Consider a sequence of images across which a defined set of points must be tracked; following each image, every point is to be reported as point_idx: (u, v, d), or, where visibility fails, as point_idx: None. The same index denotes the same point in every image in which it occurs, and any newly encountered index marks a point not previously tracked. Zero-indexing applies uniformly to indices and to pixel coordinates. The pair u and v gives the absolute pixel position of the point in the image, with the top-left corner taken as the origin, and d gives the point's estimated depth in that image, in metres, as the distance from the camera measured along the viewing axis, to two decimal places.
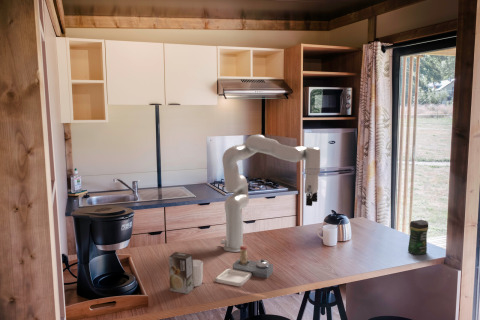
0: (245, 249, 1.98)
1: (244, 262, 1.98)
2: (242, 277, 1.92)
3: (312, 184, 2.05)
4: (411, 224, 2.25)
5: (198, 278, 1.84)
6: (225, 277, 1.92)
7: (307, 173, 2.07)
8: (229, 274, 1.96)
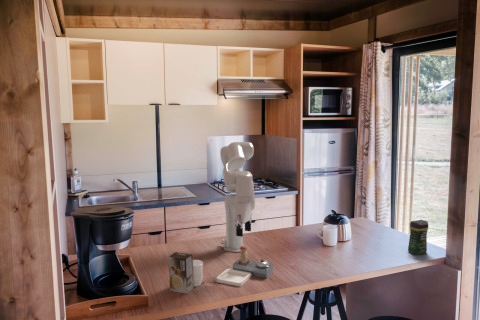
0: (245, 249, 1.98)
1: (244, 262, 1.98)
2: (242, 277, 1.92)
3: (242, 213, 1.92)
4: (411, 224, 2.25)
5: (198, 278, 1.84)
6: (225, 277, 1.92)
7: (237, 201, 1.94)
8: (229, 274, 1.96)
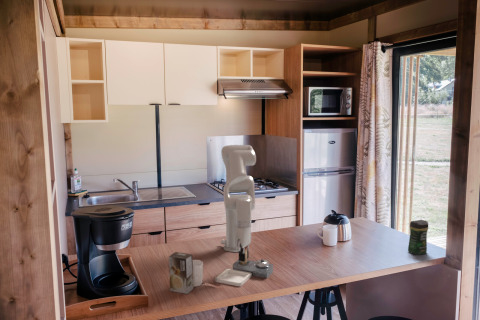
0: (245, 249, 1.98)
1: (244, 262, 1.98)
2: (242, 277, 1.92)
3: (242, 238, 1.93)
4: (411, 224, 2.25)
5: (198, 278, 1.84)
6: (225, 277, 1.92)
7: (237, 226, 1.95)
8: (229, 274, 1.96)
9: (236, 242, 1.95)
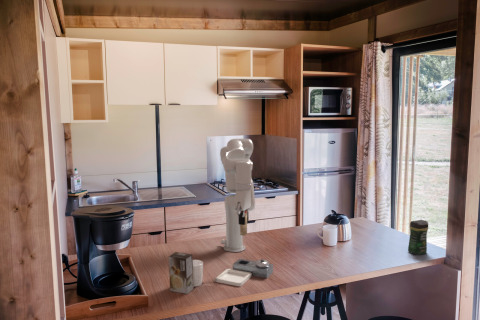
0: (245, 213, 1.96)
1: (244, 226, 1.96)
2: (242, 277, 1.92)
3: (242, 201, 1.91)
4: (411, 224, 2.25)
5: (198, 278, 1.84)
6: (225, 277, 1.92)
7: (237, 189, 1.93)
8: (229, 274, 1.96)
9: (236, 205, 1.92)
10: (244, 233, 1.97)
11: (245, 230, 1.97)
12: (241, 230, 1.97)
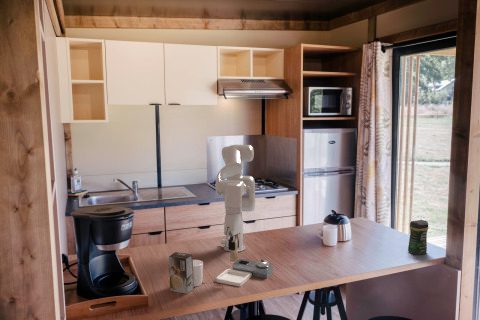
0: (235, 237, 1.87)
1: (234, 251, 1.87)
2: (242, 277, 1.92)
3: (231, 225, 1.82)
4: (411, 224, 2.25)
5: (198, 278, 1.84)
6: (225, 277, 1.92)
7: (227, 213, 1.84)
8: (229, 274, 1.96)
9: (225, 230, 1.83)
10: (234, 259, 1.87)
11: (235, 256, 1.87)
12: (231, 256, 1.88)
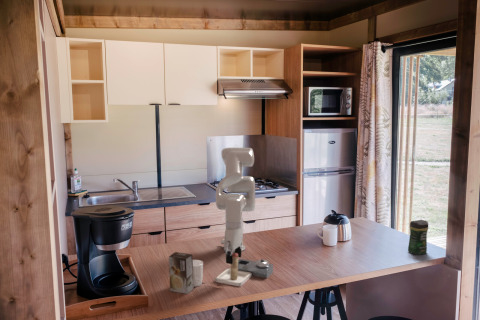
0: (236, 256, 1.88)
1: (234, 270, 1.89)
2: (242, 277, 1.92)
3: (231, 240, 1.83)
4: (411, 224, 2.25)
5: (198, 278, 1.84)
6: (225, 277, 1.92)
7: (227, 227, 1.85)
8: (229, 274, 1.96)
9: (225, 244, 1.85)
10: (234, 277, 1.89)
11: (235, 274, 1.89)
12: (231, 274, 1.89)
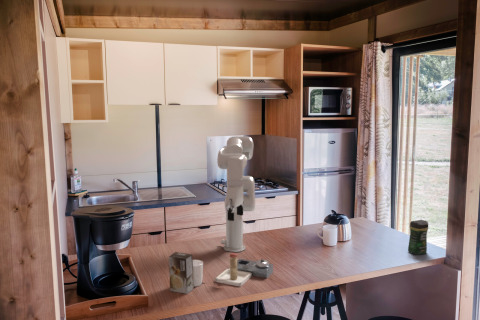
0: (235, 256, 1.88)
1: (234, 270, 1.89)
2: (242, 277, 1.92)
3: (233, 197, 1.86)
4: (411, 224, 2.25)
5: (198, 278, 1.84)
6: (225, 277, 1.92)
7: (229, 185, 1.88)
8: (229, 274, 1.96)
9: None
10: (234, 277, 1.89)
11: (235, 274, 1.89)
12: (231, 274, 1.89)
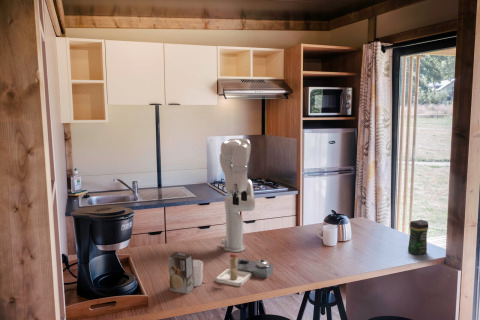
0: (235, 257, 1.88)
1: (234, 270, 1.89)
2: (242, 277, 1.92)
3: (238, 182, 1.98)
4: (411, 224, 2.25)
5: (198, 278, 1.84)
6: (225, 277, 1.92)
7: (234, 171, 2.00)
8: (229, 274, 1.96)
9: (232, 187, 1.99)
10: (234, 278, 1.89)
11: (235, 274, 1.89)
12: (231, 274, 1.89)
